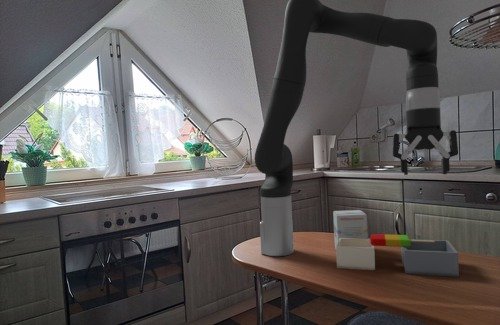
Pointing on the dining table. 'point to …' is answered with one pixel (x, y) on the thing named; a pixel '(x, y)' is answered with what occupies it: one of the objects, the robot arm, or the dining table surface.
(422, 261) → the caddy
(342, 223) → the ink box
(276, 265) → the dining table surface
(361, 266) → the cream open box
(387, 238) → the popsicle
